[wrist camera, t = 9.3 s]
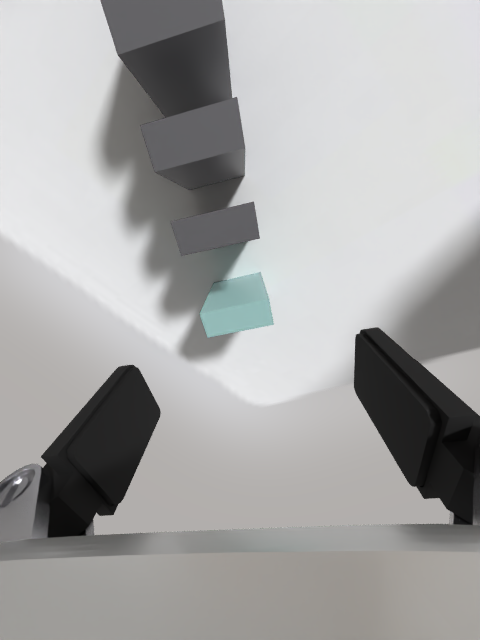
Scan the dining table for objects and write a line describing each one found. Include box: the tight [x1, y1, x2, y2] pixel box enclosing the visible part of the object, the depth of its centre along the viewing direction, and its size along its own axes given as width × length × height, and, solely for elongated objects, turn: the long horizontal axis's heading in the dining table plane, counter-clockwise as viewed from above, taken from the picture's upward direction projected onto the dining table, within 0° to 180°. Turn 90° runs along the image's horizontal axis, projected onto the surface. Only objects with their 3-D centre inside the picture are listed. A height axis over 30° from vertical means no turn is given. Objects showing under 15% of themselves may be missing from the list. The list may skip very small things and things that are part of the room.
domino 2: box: [140, 97, 245, 190], centre depth 15 cm, size 2×5×8 cm, turn 102°
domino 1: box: [101, 0, 232, 118], centre depth 13 cm, size 2×5×8 cm, turn 102°
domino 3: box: [171, 202, 260, 256], centre depth 16 cm, size 2×5×8 cm, turn 102°
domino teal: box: [200, 272, 274, 338], centre depth 19 cm, size 2×5×8 cm, turn 103°
